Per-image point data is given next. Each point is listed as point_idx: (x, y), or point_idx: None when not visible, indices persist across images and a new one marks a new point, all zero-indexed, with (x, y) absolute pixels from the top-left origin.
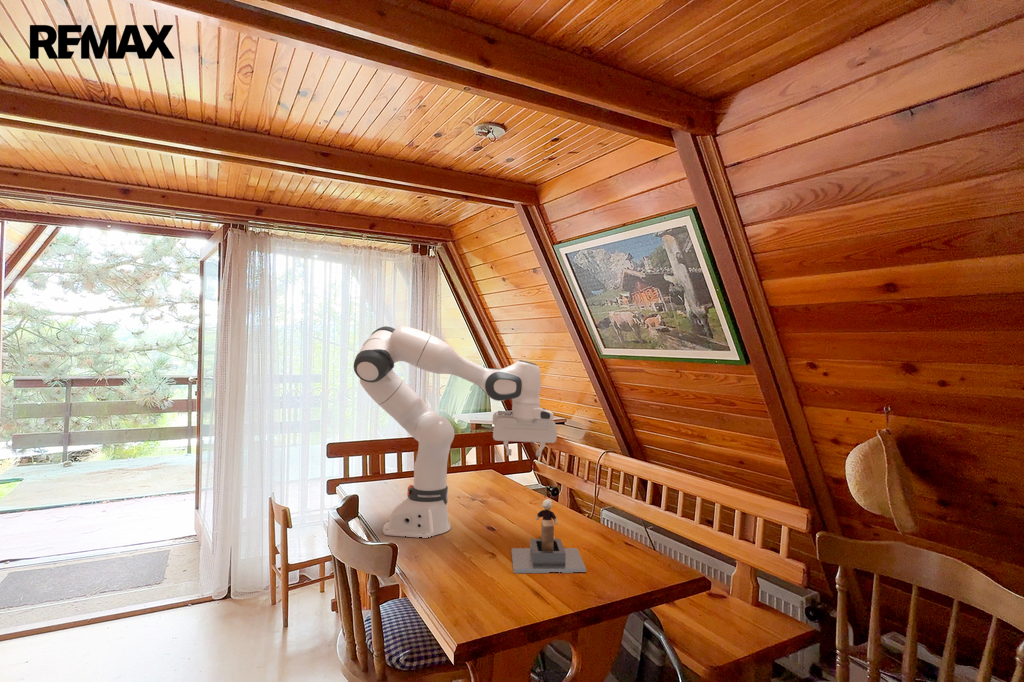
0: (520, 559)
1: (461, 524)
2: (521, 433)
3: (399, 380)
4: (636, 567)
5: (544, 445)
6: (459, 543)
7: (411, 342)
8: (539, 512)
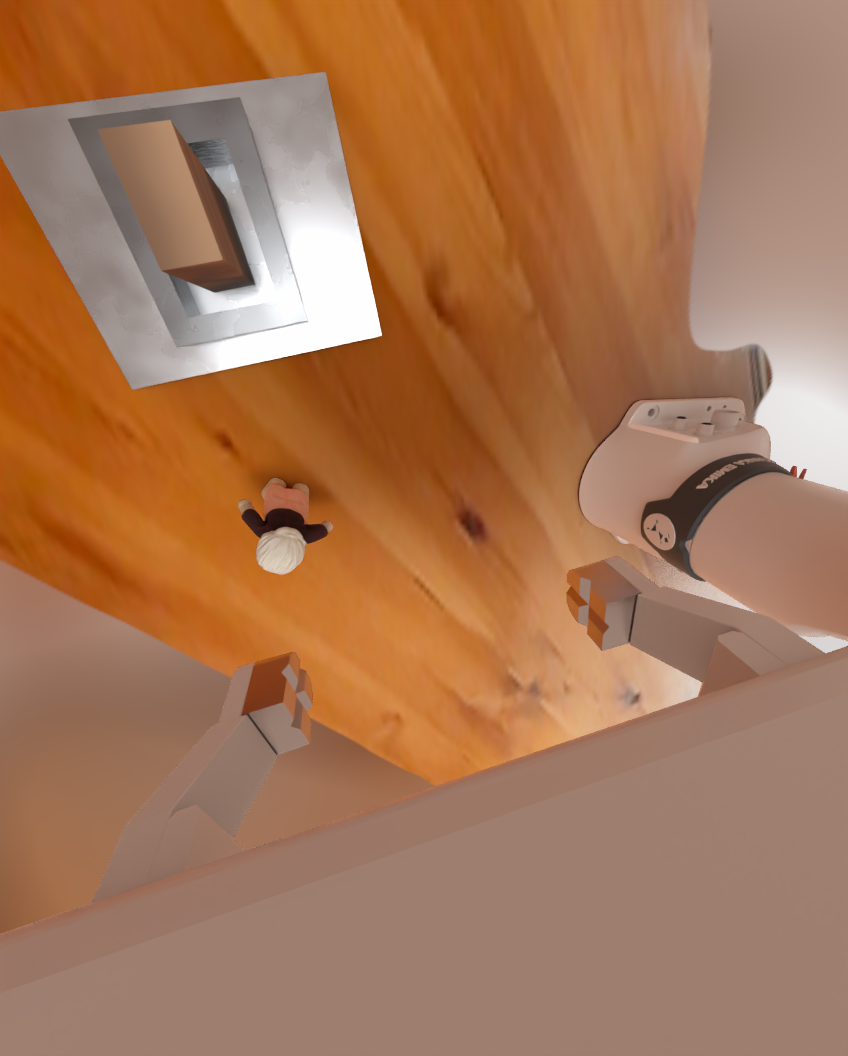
0: (323, 209)
1: (551, 530)
2: (713, 990)
3: None
4: None
5: (131, 834)
6: (548, 383)
7: None
8: (317, 533)
